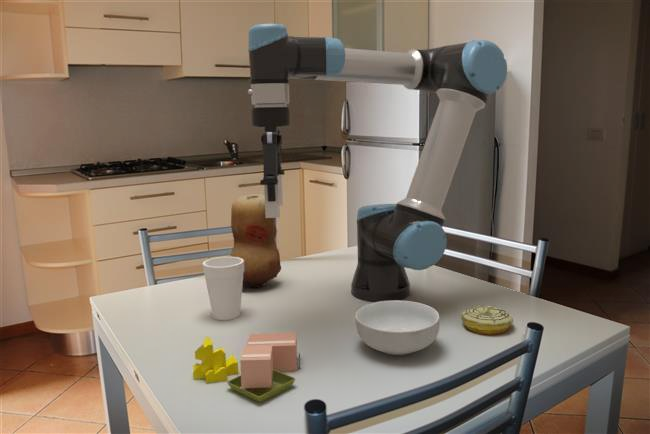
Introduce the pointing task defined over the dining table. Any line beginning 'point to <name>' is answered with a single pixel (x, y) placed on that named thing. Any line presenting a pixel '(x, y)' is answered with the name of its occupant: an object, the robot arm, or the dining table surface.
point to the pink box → (256, 366)
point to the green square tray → (262, 394)
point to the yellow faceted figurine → (213, 363)
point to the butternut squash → (254, 240)
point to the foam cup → (224, 286)
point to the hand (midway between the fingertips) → (274, 211)
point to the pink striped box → (279, 349)
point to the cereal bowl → (397, 326)
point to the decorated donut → (486, 320)
